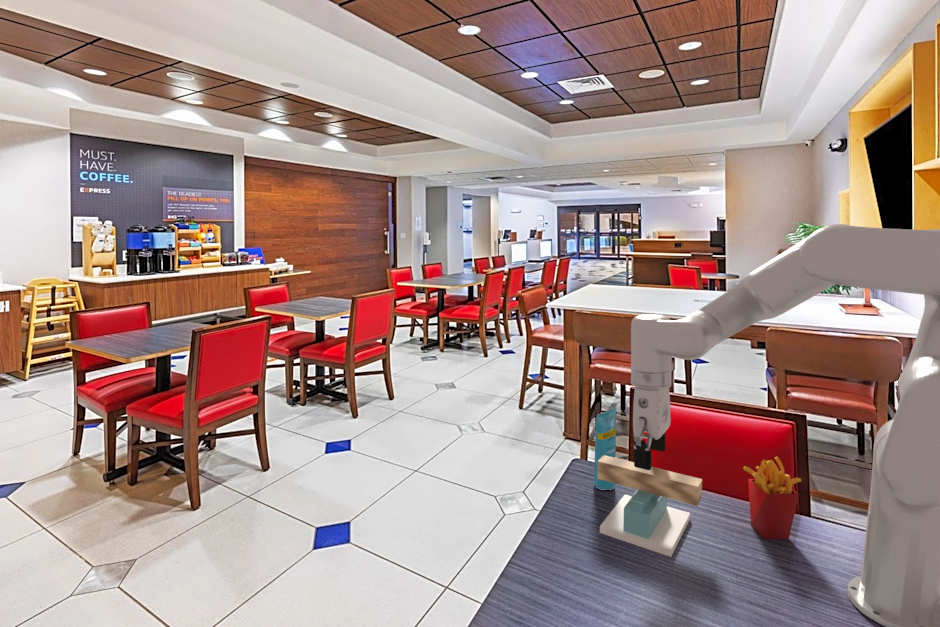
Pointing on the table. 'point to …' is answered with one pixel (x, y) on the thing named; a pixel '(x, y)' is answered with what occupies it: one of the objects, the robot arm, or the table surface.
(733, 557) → the table surface
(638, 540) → the ridge stand
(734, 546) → the table surface
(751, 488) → the french fries
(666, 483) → the oak bar
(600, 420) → the tube
